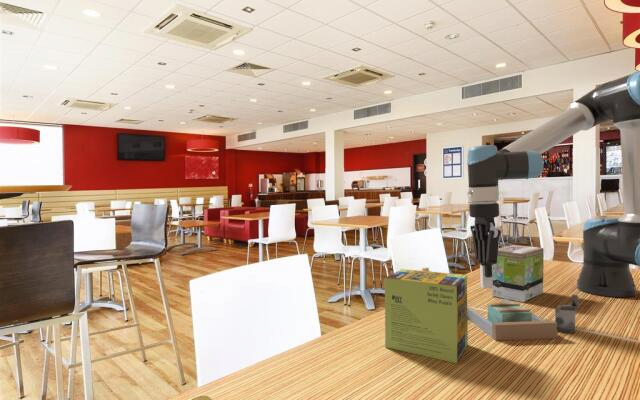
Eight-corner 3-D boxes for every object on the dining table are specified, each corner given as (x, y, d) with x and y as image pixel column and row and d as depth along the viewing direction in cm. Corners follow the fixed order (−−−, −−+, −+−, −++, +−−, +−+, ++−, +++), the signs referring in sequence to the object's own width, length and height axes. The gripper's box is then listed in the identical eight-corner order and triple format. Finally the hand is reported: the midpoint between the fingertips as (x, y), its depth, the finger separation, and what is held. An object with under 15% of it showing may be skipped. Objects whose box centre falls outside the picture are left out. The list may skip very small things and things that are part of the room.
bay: (506, 307, 107) (506, 295, 107) (556, 338, 86) (556, 322, 86) (457, 309, 107) (457, 297, 107) (495, 340, 85) (495, 325, 85)
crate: (515, 322, 96) (515, 301, 96) (532, 333, 89) (532, 310, 89) (487, 324, 96) (487, 302, 96) (501, 334, 89) (501, 311, 89)
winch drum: (571, 326, 92) (571, 292, 92) (583, 332, 88) (583, 297, 88) (551, 327, 92) (551, 293, 92) (562, 333, 88) (562, 298, 88)
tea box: (525, 303, 111) (525, 253, 110) (491, 296, 118) (490, 249, 118) (544, 293, 121) (544, 246, 120) (511, 287, 128) (511, 243, 128)
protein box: (458, 364, 75) (457, 285, 74) (384, 348, 83) (383, 277, 82) (469, 344, 83) (468, 274, 83) (401, 331, 92) (400, 267, 91)
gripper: (460, 202, 111) (463, 282, 112) (481, 204, 98) (484, 295, 99) (485, 200, 111) (488, 281, 112) (509, 202, 98) (512, 293, 99)
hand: (486, 287), depth 105 cm, fingers closed
